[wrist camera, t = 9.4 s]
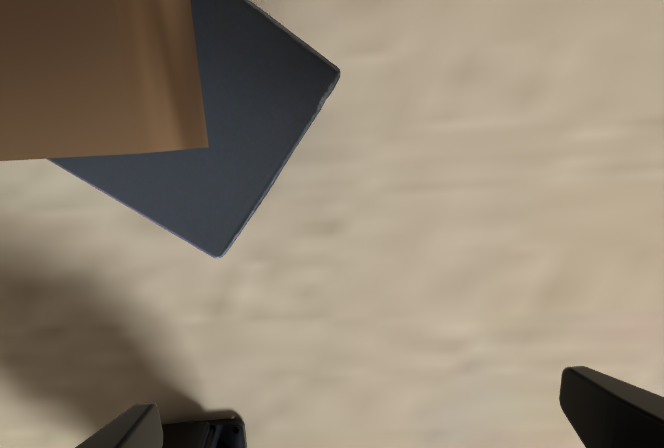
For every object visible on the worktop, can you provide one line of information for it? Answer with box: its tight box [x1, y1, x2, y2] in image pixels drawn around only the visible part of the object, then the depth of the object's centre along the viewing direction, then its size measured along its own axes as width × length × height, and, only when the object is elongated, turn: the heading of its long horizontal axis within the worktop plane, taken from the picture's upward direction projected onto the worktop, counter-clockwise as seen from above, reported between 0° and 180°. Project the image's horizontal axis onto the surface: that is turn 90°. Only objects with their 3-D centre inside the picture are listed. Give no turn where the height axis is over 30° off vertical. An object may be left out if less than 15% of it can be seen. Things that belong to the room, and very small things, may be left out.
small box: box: [46, 0, 340, 259], centre depth 14 cm, size 11×6×10 cm, turn 56°
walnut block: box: [0, 0, 209, 161], centre depth 7 cm, size 5×5×4 cm
